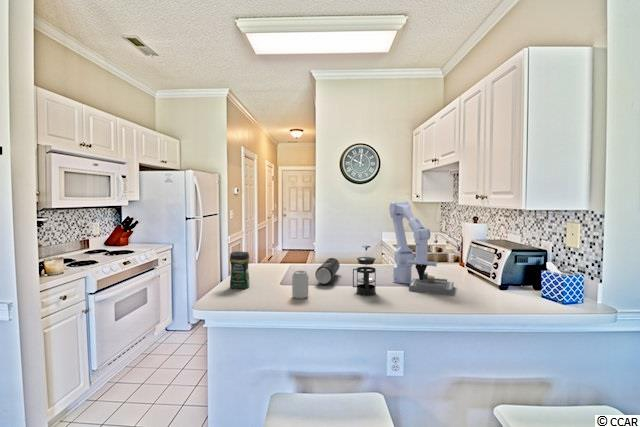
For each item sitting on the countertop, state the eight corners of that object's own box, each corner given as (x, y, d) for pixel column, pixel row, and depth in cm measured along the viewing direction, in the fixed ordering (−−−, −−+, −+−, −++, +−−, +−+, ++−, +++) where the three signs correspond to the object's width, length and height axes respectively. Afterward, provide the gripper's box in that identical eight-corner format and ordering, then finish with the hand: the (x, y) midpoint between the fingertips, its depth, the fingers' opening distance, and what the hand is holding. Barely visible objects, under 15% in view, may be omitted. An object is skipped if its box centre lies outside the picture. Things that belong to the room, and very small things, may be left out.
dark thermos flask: (340, 274, 209) (340, 257, 209) (332, 287, 182) (332, 267, 181) (324, 274, 211) (324, 257, 210) (314, 286, 184) (314, 266, 183)
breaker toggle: (427, 285, 174) (427, 276, 174) (428, 284, 177) (428, 275, 177) (433, 286, 173) (434, 277, 173) (434, 284, 176) (434, 276, 175)
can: (310, 295, 167) (310, 270, 166) (304, 300, 160) (304, 274, 159) (296, 294, 169) (295, 269, 168) (289, 298, 162) (289, 272, 161)
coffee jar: (227, 289, 178) (227, 252, 177) (233, 285, 186) (233, 250, 185) (246, 289, 176) (245, 253, 175) (251, 285, 184) (251, 250, 183)
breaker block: (408, 290, 174) (409, 276, 174) (413, 283, 189) (413, 270, 189) (452, 295, 167) (452, 280, 166) (453, 286, 181) (453, 273, 181)
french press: (376, 290, 175) (376, 244, 174) (378, 295, 166) (378, 247, 164) (352, 290, 176) (352, 244, 174) (353, 295, 166) (353, 247, 165)
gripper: (405, 252, 175) (405, 279, 176) (436, 254, 169) (435, 282, 170) (407, 250, 181) (407, 276, 182) (437, 252, 176) (436, 279, 177)
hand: (421, 279), depth 177 cm, fingers closed
